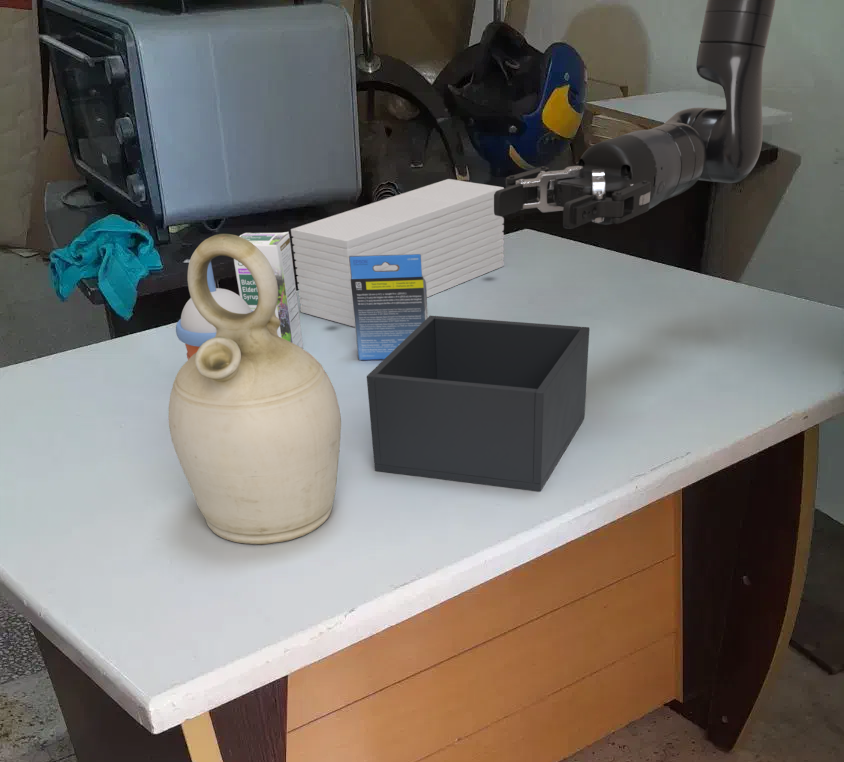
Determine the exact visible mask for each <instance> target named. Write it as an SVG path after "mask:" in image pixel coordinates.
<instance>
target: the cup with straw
mask: <svg viewBox="0 0 844 762" xmlns="http://www.w3.org/2000/svg"><path fill="white" fill-rule="evenodd" d="M207 282H208V287H209V290H210V292H211V294H212V296H213V298H214V299H215V301H216V302H217V303H218V304H219V305H220V306H221V307H222V308H224V309H226V310H228V311H230V312H233V313H240V314H247V313H250V312H253V311H252V310H251V309H250V307H249V306H248V304H247V303H246V302H245V301H244V299H242V298H241V297H240V294H237V293H236V292H234V291H232V290H229V289H226V288H221V287H216V282H215V277H214V271H213V266H212V261H211V262H210V263H209V266H208V270H207ZM175 334H176V336H177V338H178V340H179V341H180V342H181V343H182V344H184V346H185V349H186V358H187V360H188V359H189V358H190V357H191V356H192V355H194V354H195V353H196V352H197V351H198V349H199V348H200V346H201V345H202V344H203V343H204V342H206V341H207V340H209V339H212V338H214V337H215V336H216V328H215V327H214V326H213V325H212V324H210V323H209V322H208V321H207V320H205V319H204V318H203V317H202V316H201V314H200V313H199V312H198V310H197V309H196V307H195V305H194V303H193V301H192V299H191V297H190V298H189V299H188V300H187V302H186V303H185V305H184V306H183V309H182V311H181V314H180V318H179V320H178V321H177V322H176V325H175Z"/></svg>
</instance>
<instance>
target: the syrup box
mask: <svg viewBox="0 0 844 762" xmlns="http://www.w3.org/2000/svg"><path fill="white" fill-rule="evenodd" d="M238 236H239V237H242V238H244V239H246V240H248V241H249V242H251V243H252V244H253V245H255V246H256V247H257V248H258V249H259V250H260V251H261V252H262V253H263V254H264V255H265V257H266V258H267V259H268V261H269V263H270V265H271V267H272V269H273V271H274V274H275V277H276V280H277V285H278V301H277V306H276V309H275V315H276V317H277V318H278V319H279V320H280V323H281V324H280V326H279V328H278V329H277V334H278V336H279V337H281V338H283V339H285V340H287V341H289V342H291V343H293V344H295V345H297V346H299V347H301V348H302V349H304V342H303V335H302V327H301V319H300V311H299V301H298V293H297V287H296V286H297V285H296V279H295V278H296V277H295V269H294V263H293V254H292V245H291V244H292V243H291V238H290V237H291V236H290V233H289V231H284V232H244V233H242V234H240V235H238ZM233 265H234V269H235V276H236V281H237V287H238V295H239V296H240V297H241V298H242V299H244V301H245V302H246V303H247V304H248V306H249V307H250V309H251V310H252V311H254V310H255V309H256V307H257V304H258V290H257V286H256V283H255V281H254V278H253V276H252V275H251V273H250V272H249V270H248V269H247V268H246V267H245V266H244V265H243V264H242V263H240V262H239V261H237V260H235V259H234V258H233Z"/></svg>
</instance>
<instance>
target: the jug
mask: <svg viewBox="0 0 844 762" xmlns="http://www.w3.org/2000/svg"><path fill="white" fill-rule="evenodd" d="M239 236H240V235H236V234H230V233H219V234H218V233H217V234H214V235H212V236H210V237H208V238H206V239H204V240H203V241H202V242H201V243H200V244H199V245H198V246H197V247H196V249H195V250H194V251H193V253H192V255H191V257H190V259H189V261H188V267H187V287H188V292H189V296H190V298H191V299H192V301H193V303H194V305H195V307H196V309H197V310H198V312H199V313H200V314H201V316H202V317H203V318H204V319H205V320H207V321H208V322H209V323H210V324H212V325H213V326H214V327H215V328H216V336H215V337H214V338H212V339H209V340H207V341H206V342H204V343H203V344H202V345H201V346H200V348H199V349H198V351H197V352H196V353H195V354H194V355H192V356H191V357H190V358H189V359H188V358H187V361H185V362H184V364H183V365H182V366H181V367H180V368H179V370H178V372H177V373H176V375H175V377H174V380H173V383H172V387H171V391H170V395H169V401H168V427H169V432H170V440H171V442H172V443H171V444H172V445H173V449H174V451H175V454H176V457H177V459H178V462H179V464H180V466H181V469H182V471H183V474H184V476H185V478H186V480H187V482H188V484H189V487H190V489H191V490H190V491H191V492H192V495H193V497H194V500H195V502H196V505H197V507H198V509H199V512H200V513H201V514H202V516H203V517H204V518H205V522H206V524H207V526H208V528H209V529H210V530H211V532H212V533H214V534H215V535H216V536H218V537H220V538H221V539H224V540H226V541H230V542H232V543H240V544H246V545H248V544H249V545H250V544H251V545H269V544H276V543H283V542H289V541H292V540H295V539H297V538H300V537H304V536H306V535H308V534H310V533H312V532H314V531H315V530H317V529H318V528H320V527H321V525H323V524H324V523H325V522H326V521H327V520H328V518H329V517H330V515H331V513H332V510H333V504H334V500H335V495H336V491H337V480H338V470H339V459H340V447H341V433H342V419H341V417H342V416H341V410H340V405H339V401H338V396H337V393H336V389H335V387H334V385H333V383H332V380H331V378H330V377H329V374H328V373H327V372H326V370H325V368H324V366H323V365H322V364H321V363H320V362H319V361H318V359H317V358H315V356H313V355H312V354H311V353H310V352H308V351H307V350H305V349H304V348H303V349H302V348H301V347H299V346H297V345H295V344H293V343H291V342H289V341H287V340H285V339H283V338H281V337H279V336H278V334H277V329H278V328H279V326H280V324H281V323H280V320H279V319H278V318H277V317H276V315H275V309H276V306H277V301H278V285H277V280H276V277H275V274H274V271H273V269H272V267H271V265H270V263H269V261H268V259H267V258H266V257H265V255H264V254H263V253H262V252H261V251H260V250H259V249H258V248H257V247H256V246H255V245H253V244H252V243H251V242H249V241H248V240H246V239H244V238H242V237H239ZM221 256H223V257H229V258H231V259H233V260H234V259H235V260H237V261H239V262H240V263H242V264H243V265H244V266H245V267H246V268H247V269H248V270H249V272H250V273H251V275H252V276H253V278H254V281H255V283H256V286H257V290H258V304H257V307H256V309H255V310H254V311H253V312H250V313H247V314H240V313H233V312H230V311H228V310H226V309H224V308H222V307H221V306H220V305H219V304H218V303H217V302H216V301H215V299H214V298H213V296H212V294H211V292H210V290H209V287H208V282H207V270H208V266H209V263H210V262H211V263H212V260H213V259H215V258H217V257H221Z"/></svg>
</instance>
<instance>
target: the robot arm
mask: <svg viewBox="0 0 844 762" xmlns="http://www.w3.org/2000/svg"><path fill="white" fill-rule="evenodd" d="M775 5H776V0H707V1H706V5H705V6H706V7H705V12H704V18H703V22H702V29H701V33H700V40H699V44H698V50H697V56H696V68H695V69H696V72H697V75H698V76H699V77H700V78H702V79H703V80H705V81H708V82H711V83H714V84H716V85H719V86H721V88H722V89H723V92H724V93H723V94H724V98H725V108H713V107H712V108H711V107H689V108H685V109H682V110H679V111H677V112H675V113H674V114H673V115H672V116H670V117H669V119H667V120H666V121H665V122H664V123H663V124H662V125H661V124H660V125H659V126H656V127H653V128H649V129H639V130H634V131H631V132H627V133H625V134H622V135H618V136H616V137H612V138H608V139H606V140H602V141H600V142H597V143H594V144H593V145H591V146H589V147H588V148H587V149H586V150H585V151H584V152H583V154H582V155H581V156H580V157H579V159H578V162H577V163H576V165H572V166H567V167H565V168H564V169H560V170H550V167H546V165H545V166H540V167H537V168H533V169H530V170H526V171H524V172H523V171H522V172H520V173H517V174H516V173H515V174H512V175H509V176H507V177H505V188H504V189H501V190H498V191H496V192H495V194H494V214H495V215H496V216H501V217H502V218H503V217H505V216H508V215H510V214H513V213H517V212H519V211H523V210H527V209H528V210H529V209H538V210H539V211H540V212H541V213H553V212H560V211H562V227H563V228H564V229H569V230H573V229H576V228H577V227H580V226H583V225H585V224H588V223H591V222H592V223H595V224H598V225H605V226H606V225H607V226H608V225H612V224H614V225H620V224H622V223H624V222H627V221H630V220H631V219H633V218H635V217H638V216H640V215H642V214H644V213H646V212H649V210H651V209H652V208H654V207H656V206H658V205H659V204H661V202H664V201H667V200H669V199H672V198H674V197H676V196H680V195H681V194H683V193H685V192H687V191H689V189H691V188H692V187H694V185H695V184H696V183H698V181H703V182H711V183H713V182H714V183H721V184H737V183H739V182H741V181H743V180H744V179H746V178H747V177H748V176H749V175H750V174H751V172H752V171H753V169H754V168H755V167H756V164H757V162H758V160H759V157H760V155H761V150H762V145H763V135H764V133H763V131H764V130H763V129H764V128H763V127H764V125H763V67H764V66H763V65H764V64H763V63H764V58H765V53H766V47H767V44H768V39H769V34H770V29H771V25H772V21H773V15H774V11H775ZM550 190H552V191H553V197H552V198H553V202H549V203H548V195H549V191H550Z"/></svg>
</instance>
